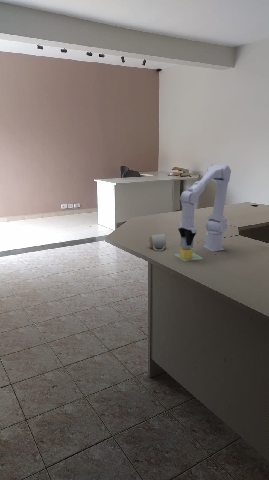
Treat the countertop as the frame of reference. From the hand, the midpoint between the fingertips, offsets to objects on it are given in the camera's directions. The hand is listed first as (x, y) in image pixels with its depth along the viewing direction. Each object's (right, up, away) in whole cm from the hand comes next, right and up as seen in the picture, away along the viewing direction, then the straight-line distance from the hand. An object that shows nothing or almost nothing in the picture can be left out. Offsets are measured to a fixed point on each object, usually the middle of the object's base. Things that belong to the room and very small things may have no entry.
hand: (186, 243), depth 178 cm
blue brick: (0, -1, 0) cm, 2 cm away
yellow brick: (0, -7, +2) cm, 7 cm away
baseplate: (+1, -7, +4) cm, 8 cm away
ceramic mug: (-13, -3, +17) cm, 21 cm away
